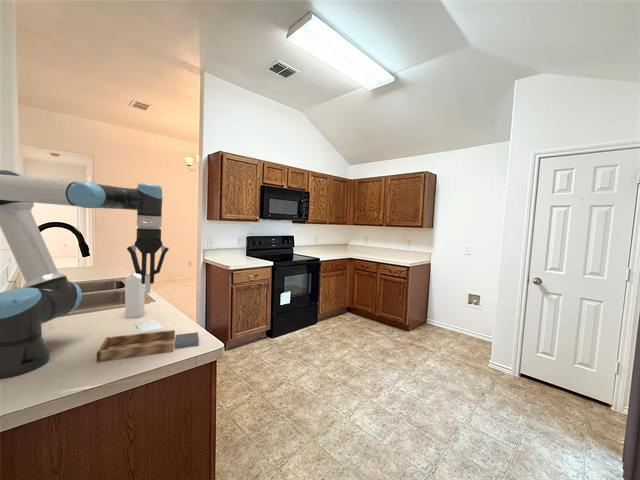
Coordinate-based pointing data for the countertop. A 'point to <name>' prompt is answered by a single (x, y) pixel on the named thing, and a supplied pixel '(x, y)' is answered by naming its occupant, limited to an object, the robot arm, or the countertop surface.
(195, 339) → the grey square tile
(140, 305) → the milk
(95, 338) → the countertop surface
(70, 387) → the countertop surface
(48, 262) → the robot arm
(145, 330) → the hard drive
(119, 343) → the box
